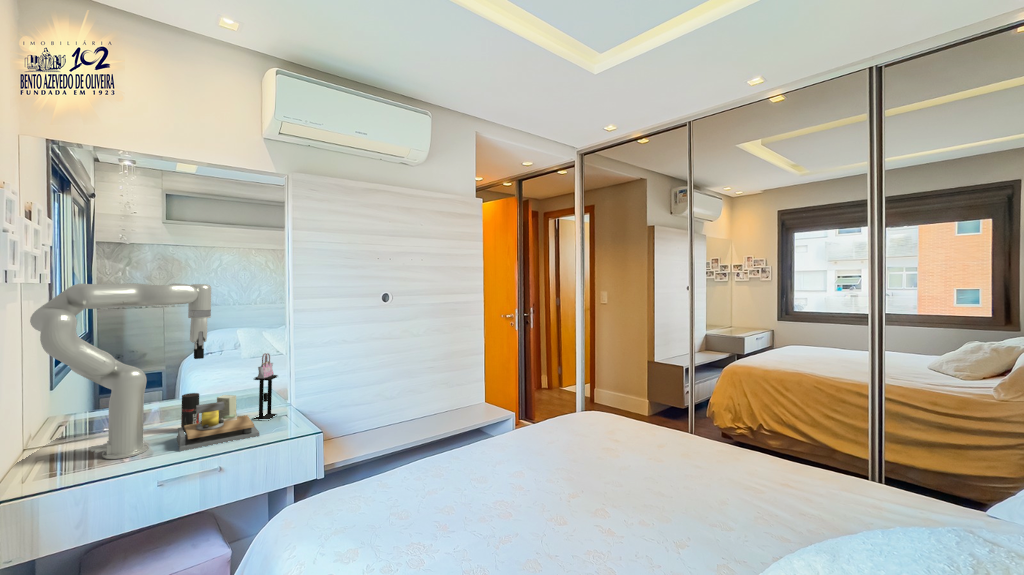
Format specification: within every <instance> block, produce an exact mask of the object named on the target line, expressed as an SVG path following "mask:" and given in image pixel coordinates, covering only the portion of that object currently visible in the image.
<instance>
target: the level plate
mask: <svg viewBox="0 0 1024 575" xmlns="http://www.w3.org/2000/svg"><path fill="white" fill-rule="evenodd" d="M219 410H224V402H217V401H216V402H211V403H204V404H203V403H202V404H199V405H196V413H197V414H198V413H199V414H201V420H200V422H199V423H197V424H191V425H185V426H184V429H185V432H186V433H185V434H186V435H187V438H188V439H193V438H198V437H204V436H209V435H214V434H220V433H225V432H231V431H236V430H241V429H247V428H252V427H254V426H255V424H254V422H253V420H251V419H250V417H249V415H248V414H246V415H240V416H237V415H236V416H235V414H233V415H227V416H223V418H221V419H220V420H219Z"/></svg>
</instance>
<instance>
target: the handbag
mask: <svg viewBox="0 0 1024 575" xmlns="http://www.w3.org/2000/svg"><path fill="white" fill-rule="evenodd" d="M273 365H274V362H271V355H270V353H266V352H264V353H263V354H262V358H261V365H260V366H258V367H257V369H258V374H257V376H255V377H254V378H253V381H259V388H258V390H259V392H258V394H259V395H258V396H259V397H258V398H259V400H258V415H259V417H256V416H255V417H256V418H254V417H252V420H253V419H270V418H272V417H273V416H275V415H277V416H278V413H272V400H273V399H272V398H273V397H272V392H273V391H272V390H273V380H275V379H276V378H278V377H279V374H274V371H273ZM265 381H267V392H264V391H265V390H264V385H265V384H264V383H265ZM264 402H265V403H266V402H267V411H266V412H267V414H266V415H265V416H263V413H264ZM272 419H273V418H272ZM272 419H270V420H272ZM270 420H268V421H270ZM268 421H267V422H268Z"/></svg>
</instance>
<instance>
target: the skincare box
mask: <svg viewBox="0 0 1024 575" xmlns="http://www.w3.org/2000/svg"><path fill="white" fill-rule="evenodd" d="M217 402H224V410H219V420H220V419H221V418H223V416H227V415H233V414H235V416H236V417H237V395H233V394H222V395H220V396H217V397H216V403H217Z"/></svg>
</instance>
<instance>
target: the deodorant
mask: <svg viewBox="0 0 1024 575" xmlns="http://www.w3.org/2000/svg"><path fill="white" fill-rule="evenodd" d="M196 405H200V393H198V392H190V393H185V394H182V395H181V413H180V414H181V417H180V418H181V421H180V423H181V425H180V426H181V427H182V428H183V431H184V432H185V429H184V426H185V425H191V424H197V423H200V413H198V414H197V413H196ZM184 434H186V432H185V433H184Z"/></svg>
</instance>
